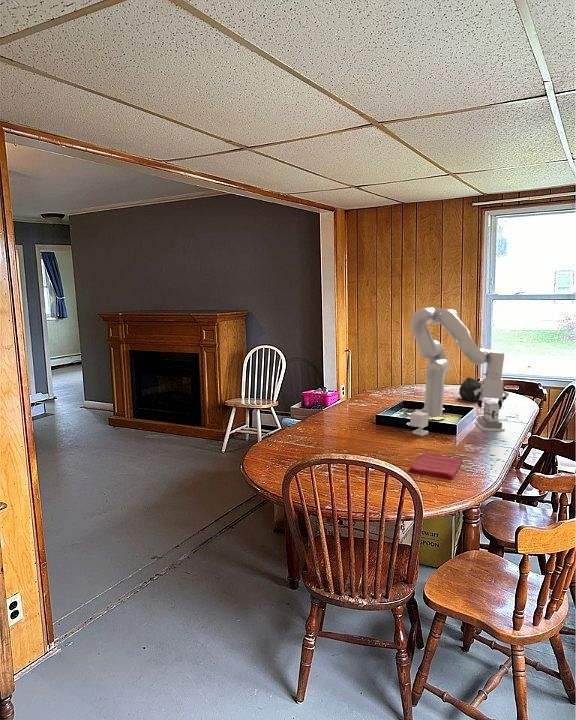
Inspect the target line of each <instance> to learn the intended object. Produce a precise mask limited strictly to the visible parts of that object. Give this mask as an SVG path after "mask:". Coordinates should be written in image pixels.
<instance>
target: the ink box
mask: <svg viewBox="0 0 576 720" xmlns="http://www.w3.org/2000/svg"><path fill="white" fill-rule="evenodd" d="M499 411H500V409H499V404H498V402H495V401H494V400H486V401H485V400H484V402H483V415H482V416H483V419H484V420H485V421H486V422H498V420H499Z"/></svg>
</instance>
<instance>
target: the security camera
mask: <svg viewBox="0 0 576 720" xmlns="http://www.w3.org/2000/svg"><path fill="white" fill-rule="evenodd" d="M428 418H429V414H428V413H423V412H419V411H416V412H415V411H413V412H411V413H410V421H409V422H410V423H409V425H410V426H414V427H417V429H415V430H412V434H414V435H417V436H422V437H423V436H426V435H428V434H429V430H425V429H424V428H425V427H428V426H429V420H428Z"/></svg>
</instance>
